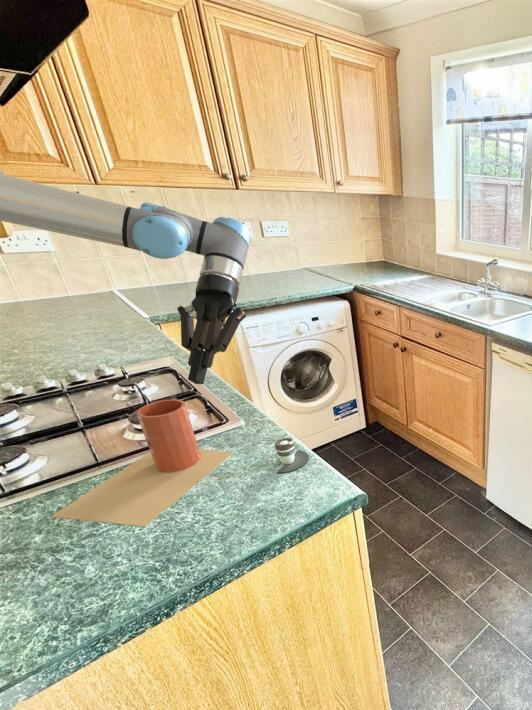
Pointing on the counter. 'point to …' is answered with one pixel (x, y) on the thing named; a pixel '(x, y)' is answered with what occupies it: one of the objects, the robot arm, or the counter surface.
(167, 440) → the tumbler
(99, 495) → the mat
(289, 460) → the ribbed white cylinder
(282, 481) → the counter surface
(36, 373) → the counter surface
